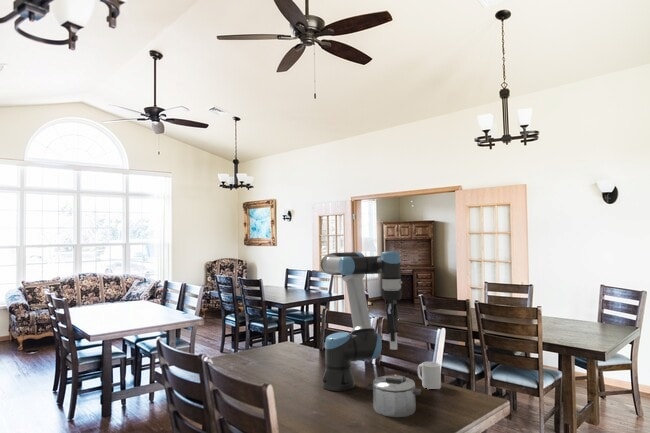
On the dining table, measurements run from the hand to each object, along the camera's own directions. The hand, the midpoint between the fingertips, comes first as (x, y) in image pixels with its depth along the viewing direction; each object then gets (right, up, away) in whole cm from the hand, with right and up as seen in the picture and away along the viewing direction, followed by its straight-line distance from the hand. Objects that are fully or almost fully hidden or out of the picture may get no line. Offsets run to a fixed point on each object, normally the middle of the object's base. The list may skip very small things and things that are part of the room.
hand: (393, 349), depth 165 cm
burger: (+4, -25, +24) cm, 35 cm away
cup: (+20, -25, +23) cm, 39 cm away
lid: (0, -14, -1) cm, 14 cm away
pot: (0, -23, -2) cm, 23 cm away
